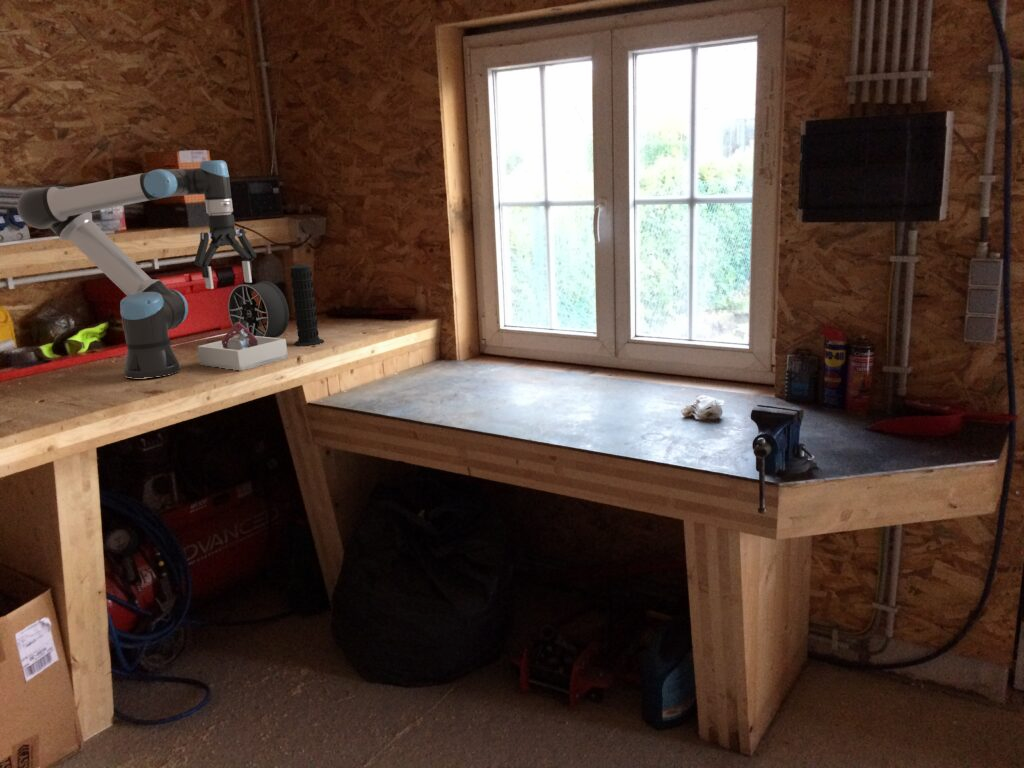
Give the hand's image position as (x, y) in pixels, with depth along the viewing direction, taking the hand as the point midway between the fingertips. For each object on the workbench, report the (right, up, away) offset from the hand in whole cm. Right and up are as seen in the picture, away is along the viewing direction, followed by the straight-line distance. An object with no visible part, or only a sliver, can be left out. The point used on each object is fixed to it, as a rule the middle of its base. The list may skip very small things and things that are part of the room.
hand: (229, 285), depth 259 cm
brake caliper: (+3, -22, +3) cm, 22 cm away
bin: (+4, -23, +3) cm, 23 cm away
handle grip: (+18, -16, +27) cm, 36 cm away
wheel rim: (-1, -15, +36) cm, 39 cm away
